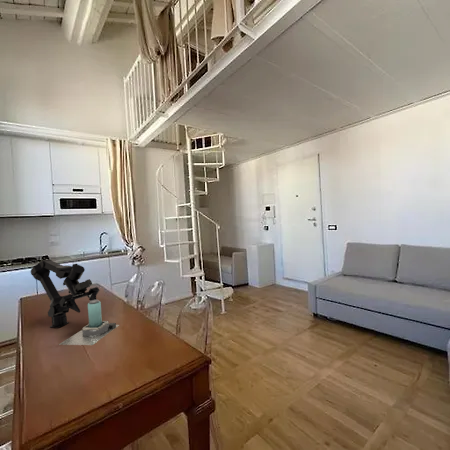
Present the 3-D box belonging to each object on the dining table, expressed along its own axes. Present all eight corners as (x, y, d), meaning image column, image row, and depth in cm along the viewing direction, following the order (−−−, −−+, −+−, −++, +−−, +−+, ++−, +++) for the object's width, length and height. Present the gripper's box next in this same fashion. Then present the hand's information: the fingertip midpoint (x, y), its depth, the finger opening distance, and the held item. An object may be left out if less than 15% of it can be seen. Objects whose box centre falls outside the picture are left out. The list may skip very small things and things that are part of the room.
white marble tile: (58, 346, 118) (57, 336, 118) (90, 326, 140) (89, 318, 140) (92, 347, 115) (92, 336, 115) (119, 326, 137) (119, 317, 137)
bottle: (87, 329, 126) (85, 303, 126) (91, 325, 132) (89, 299, 132) (100, 328, 127) (98, 301, 127) (103, 323, 133) (101, 298, 133)
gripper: (61, 279, 126) (76, 304, 121) (96, 272, 142) (111, 293, 137) (53, 294, 130) (67, 319, 125) (88, 285, 146) (102, 306, 141)
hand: (88, 309), depth 132 cm, fingers open, 9 cm apart
